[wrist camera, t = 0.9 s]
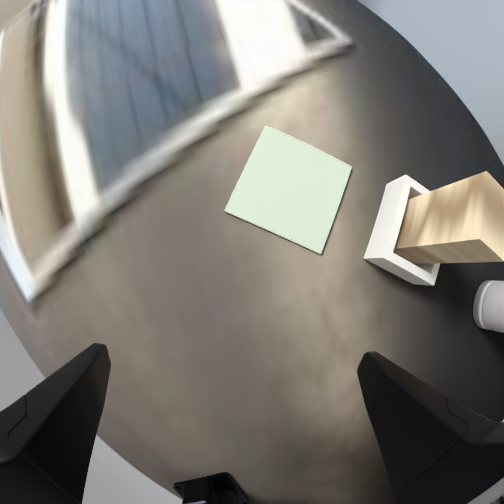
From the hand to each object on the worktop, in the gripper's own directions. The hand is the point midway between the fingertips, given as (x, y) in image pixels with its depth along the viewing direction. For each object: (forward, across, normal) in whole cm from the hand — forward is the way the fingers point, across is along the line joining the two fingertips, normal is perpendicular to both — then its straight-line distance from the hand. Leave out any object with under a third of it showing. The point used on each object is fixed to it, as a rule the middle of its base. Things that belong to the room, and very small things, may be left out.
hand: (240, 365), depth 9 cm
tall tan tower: (+16, -17, -1) cm, 23 cm away
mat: (+18, -6, -3) cm, 19 cm away
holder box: (+16, -17, -1) cm, 23 cm away
